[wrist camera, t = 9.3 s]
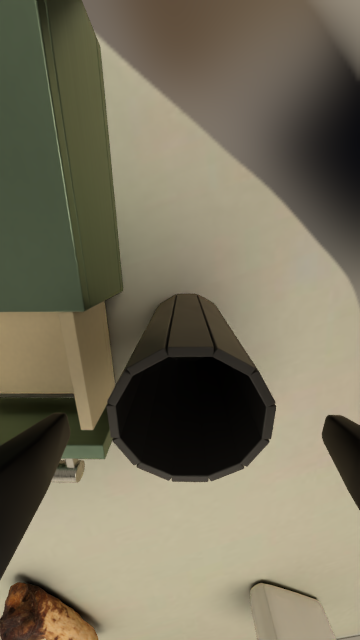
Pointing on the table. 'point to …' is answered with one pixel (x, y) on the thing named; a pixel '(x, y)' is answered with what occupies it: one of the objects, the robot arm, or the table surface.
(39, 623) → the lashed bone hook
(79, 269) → the green box
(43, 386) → the drawer
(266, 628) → the photo printer
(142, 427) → the black cup
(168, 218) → the table surface
